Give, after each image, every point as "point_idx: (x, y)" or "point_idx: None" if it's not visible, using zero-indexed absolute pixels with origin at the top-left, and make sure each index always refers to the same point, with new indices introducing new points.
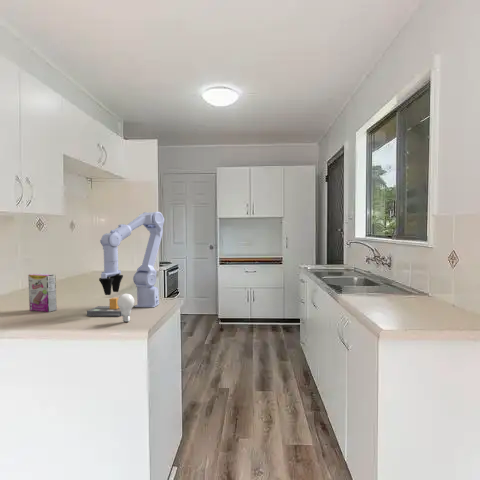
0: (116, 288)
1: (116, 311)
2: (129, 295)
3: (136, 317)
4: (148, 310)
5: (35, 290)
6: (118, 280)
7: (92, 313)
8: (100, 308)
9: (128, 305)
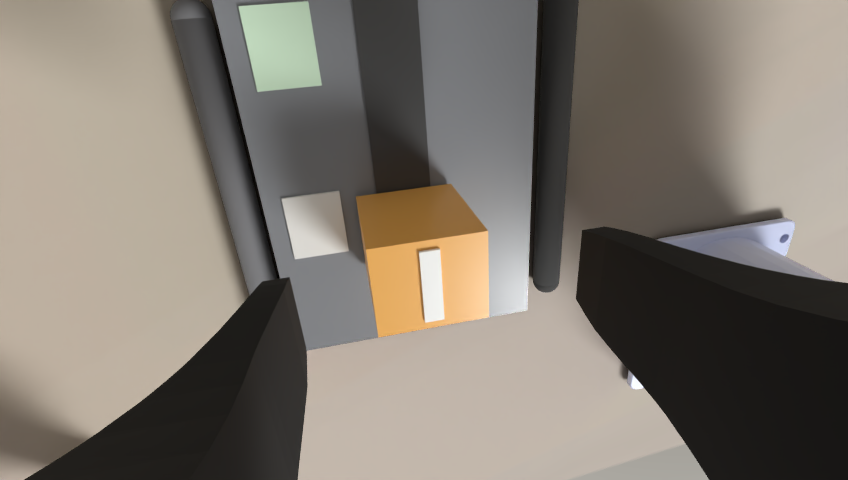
0: (610, 316)
1: None
2: None
3: None
4: (531, 395)
5: None
6: (728, 472)
7: (194, 37)
8: (380, 46)
9: None
